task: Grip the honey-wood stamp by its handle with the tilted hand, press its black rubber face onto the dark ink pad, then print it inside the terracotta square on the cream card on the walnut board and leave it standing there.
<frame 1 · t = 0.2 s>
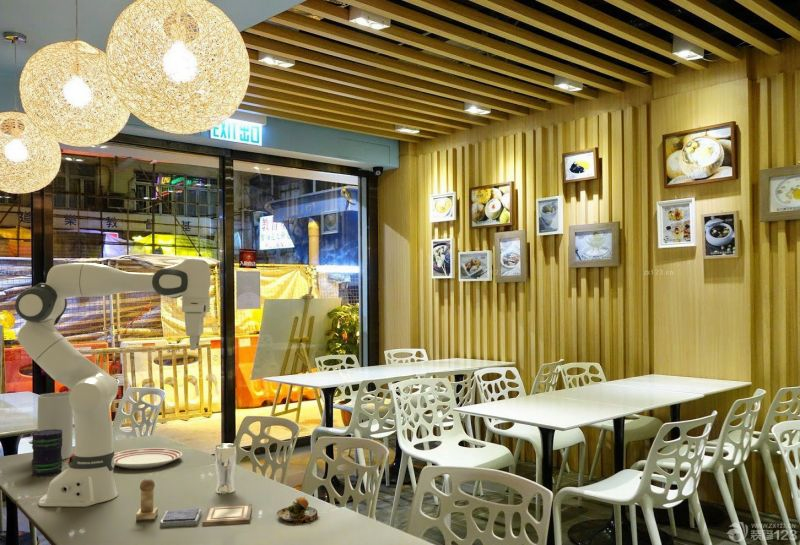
hand: (194, 349, 219), 47 cm above the table, tool pointing down, fingers open, 8 cm apart
stamp: (146, 519, 193), on the table
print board: (227, 516, 195), on the table
plate of salad: (297, 519, 195), on the table
ink pad: (181, 520, 192), on the table
beer glass: (225, 492, 220), on the table
storage jar: (46, 473, 243), on the table
dinner plate: (144, 463, 258), on the table
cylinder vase: (54, 458, 265), on the table
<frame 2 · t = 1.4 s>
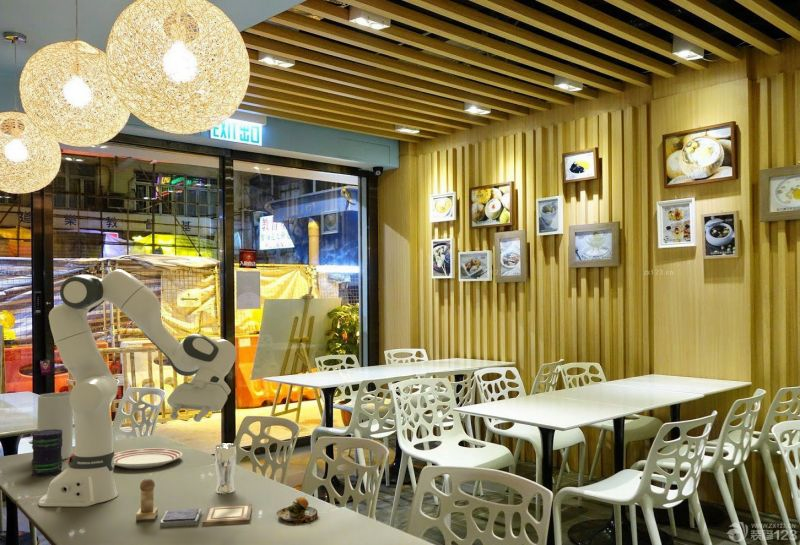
hand: (184, 419, 207), 26 cm above the table, tool tilted 45°, fingers open, 8 cm apart
nothing on the table moved.
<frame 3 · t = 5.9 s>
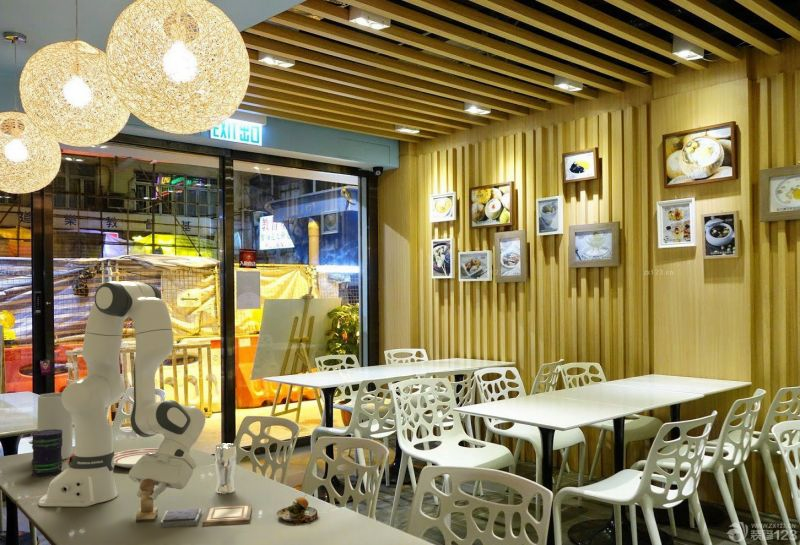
hand: (145, 497, 193), 6 cm above the table, tool tilted 45°, fingers closed on stamp, 3 cm apart
stamp: (146, 519, 193), on the table, touching gripper
everything else where it was.
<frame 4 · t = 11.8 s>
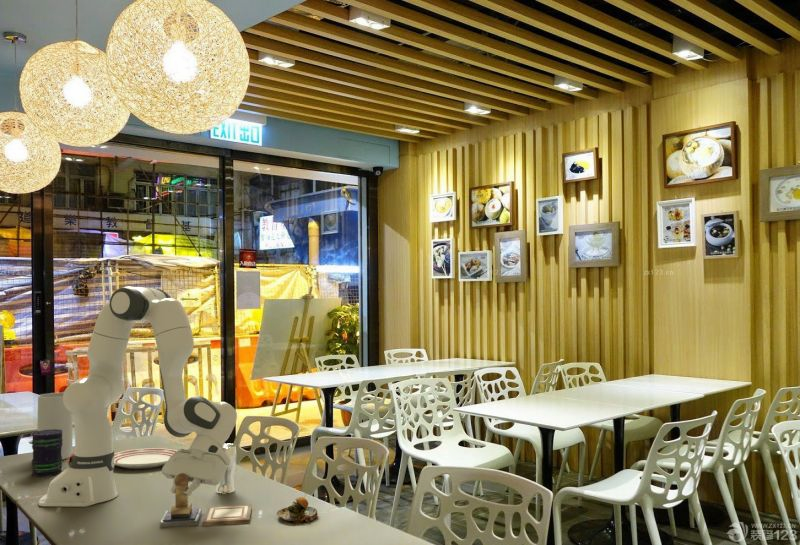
hand: (180, 493, 192), 8 cm above the table, tool tilted 45°, fingers closed on stamp, 3 cm apart
stamp: (181, 514, 192), point 2 cm above the table, touching gripper
everything else where it was.
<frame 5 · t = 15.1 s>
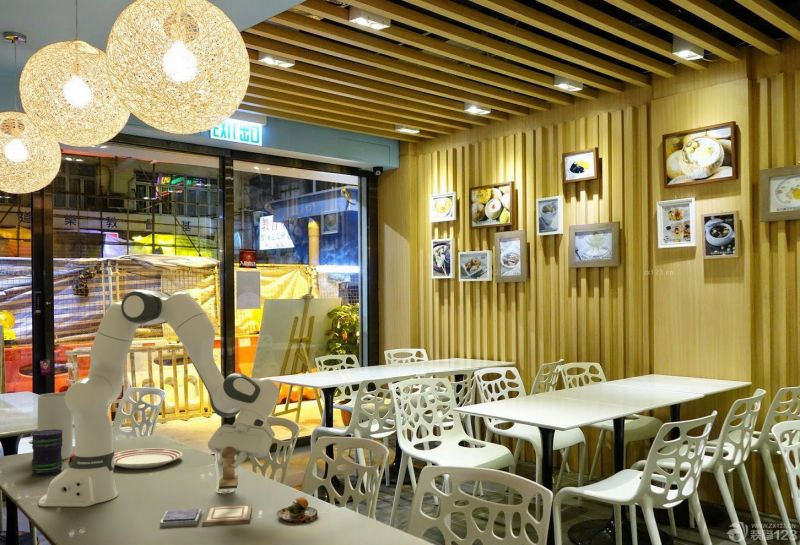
hand: (227, 466, 195), 15 cm above the table, tool tilted 45°, fingers closed on stamp, 3 cm apart
stamp: (228, 486, 196), point 9 cm above the table, touching gripper
everything else where it was.
when the fingers open (7 cm above the table, at t = 18.0 s): stamp stays where it is, resting on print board.
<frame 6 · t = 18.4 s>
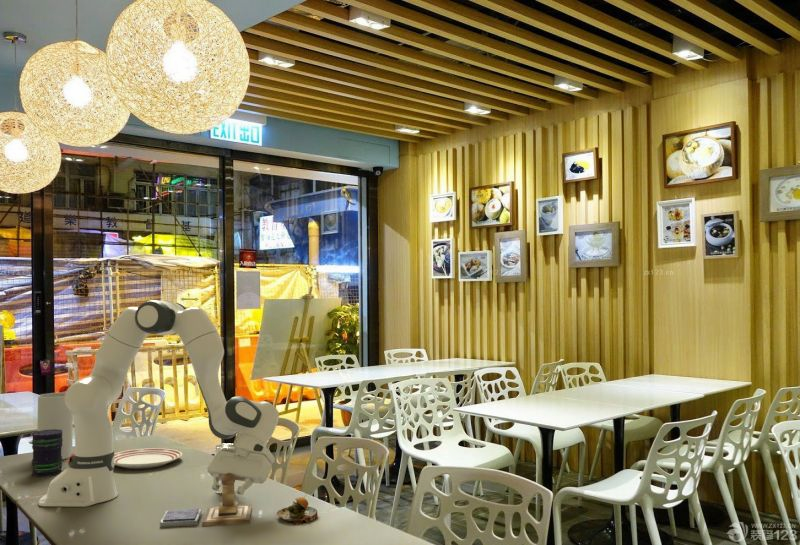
hand: (226, 491, 195), 7 cm above the table, tool tilted 45°, fingers open, 8 cm apart
stamp: (228, 512, 195), point 1 cm above the table, touching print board
everything else where it was.
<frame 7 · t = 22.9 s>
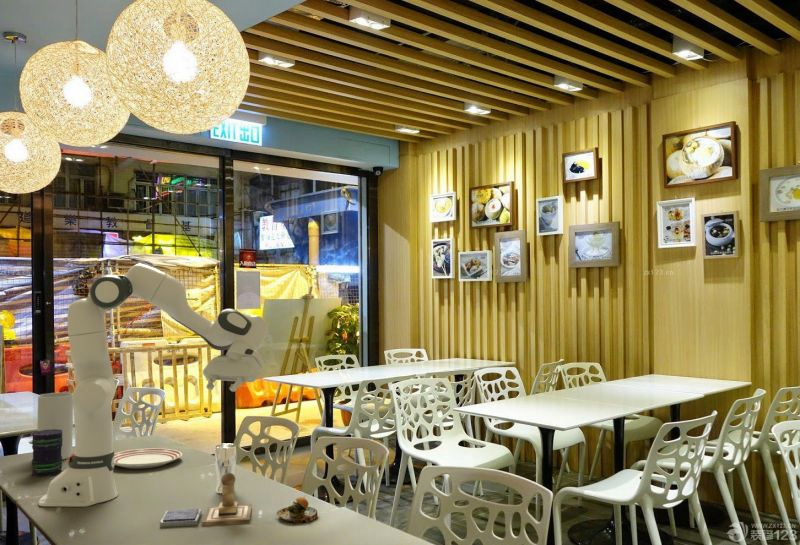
hand: (220, 389, 216), 34 cm above the table, tool tilted 45°, fingers open, 8 cm apart
nothing on the table moved.
at the end: stamp 0.0 cm off-centre on the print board, point 1.1 cm above the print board's base; stamp tilted 0°; the gripper is holding nothing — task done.
